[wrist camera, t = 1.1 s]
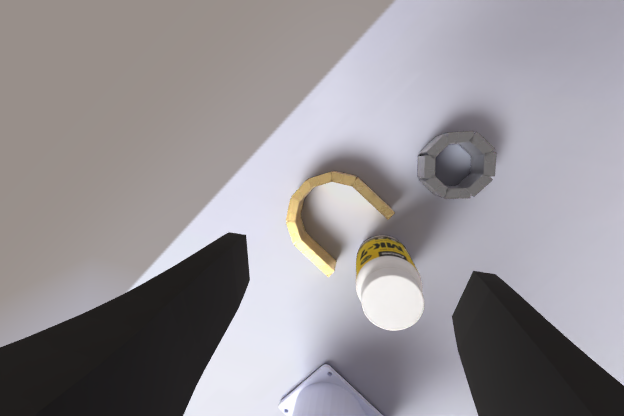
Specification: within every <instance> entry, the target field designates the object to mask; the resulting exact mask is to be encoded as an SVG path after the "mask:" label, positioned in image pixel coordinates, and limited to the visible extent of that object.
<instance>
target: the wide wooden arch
mask: <svg viewBox="0 0 624 416" xmlns="http://www.w3.org/2000/svg"><path fill="white" fill-rule="evenodd" d="M329 182H336V183H340V184H344V185H349V186H352V187H353V188H355V189H356V190H357V191H358V192H359V193H360V194H361V195H362V196H363V197H364V198H365V199H366V200H367V201H368V202H369V203H371V204H372V205H373V206H374V207H375V208H376V209H377V210H378V211H379V212H380V213H381V214H382V215H383V216H384V217H385V218H387V219H389V218H390V217H391V216H393V215H394V214H395V212H394V211H393V210H392V208H391V207H390V206H389V205H388V204H386V203H385V202H384V201H383V200H382V199H381V198H380V197H379V196H378V195H377V194H376V193H375V192H374V191H373V190H372V189H370V188H369V187H368V186H367V185H366V184H365V183H364V182H363V181H362V180H361V179H360V178H359V177H357V178H356V176H355V175H351V174H346V173H342V172H338V171H331V172H328V173H325V174H322V175H319V176H315V177H312V178H309V179H308V180H306V181H305V182H304V183H303V184H302V186H301V187H300V188H299V189H298V190H297V191H296V192H295V193H294V194H293V196H292V198H291V199H290V203H289V208H288V213H287V218H286V221H287V222H286V224H287V227H288V230H289V233H290V236H291V239H292V242H293V243H295V244H294V245H295V246H296V247H297V248H298V249H299V250H300V251H301V252H302V253H303V254H304V255H305V256H306V257H307V258H309V259H310V260H311V261H312V262H313V263H314V264H315V265H316V266H317V267H318V268H319V269H320V270H321V271H322V272H323V273H325V274H326V275H327V276H328V277H329V276H330V275H331V274H332V273H333V272H334V271H335V266H336V260H335V259H334V258H333V257H332V256H331V255H329V254H328V253H327V252H326V251H325V250H324V249H323V248H322V247H321V246H320V245H319V244H318V243H317V242H316V241H315V240H313V239H312V238H311V237H310V236H309V235H308V234H307V233H306V231H305V228H304V225H303V222H302V218H301V211H302V207H303V202H304V198H305V197H306V196H307V195H308V194H309V193H310V192H311V191H312V189H313V188H314V187H316V186H319V185H322V184H326V183H329Z"/></svg>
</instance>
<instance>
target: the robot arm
mask: <svg viewBox="0 0 624 416" xmlns="http://www.w3.org/2000/svg"><path fill="white" fill-rule="evenodd" d="M249 281H250V277H249V265H248V253H247V241H246V235H242V234H236V233H230V232H229V233H227V234H225V235H224V236H222V237H220V238H219V239H217V240H215V241H214V242H212V243H211V244H209V245H207V246H206V247H204V248H203V249H201V250H199V251H198V252H196V253H195V254H193V255H191V256H190V257H188V258H186V259H185V260H183V261H182V262H180V263H178V264H177V265H175V266H173V267H172V268H170V269H168V270H166V271H165V272H163V273H161V274H159V275H158V276H156V277H154V278H152V279H150V280H149V281H147V282H145V283H143V284H142V285H140V286H138V287H136V288H134V289H132V290H130V291H129V292H127V293H125V294H123V295H121V296H119V297H117V298H115V299H113V300H111V301H109V302H107V303H104V304H102V305H100V306H98V307H96V308H94V309H92V310H90V311H88V312H85V313H83V314H81V315H79V316H76V317H74V318H72V319H69V320H67V321H64V322H62V323H60V324H58V325H55V326H53V327H50V328H48V329H46V330H43V331H41V332H39V333H36V334H34V335H31V336H29V337H26V338H24V339H21V340H19V341H16V342H14V343H11V344H8V345H6V346H3V347H0V416H183V414H184V412H185V410H186V408H187V405H188V403H189V401H190V399H191V396H192V394H193V392H194V390H195V387H196V385H197V383H198V381H199V379H200V378H201V376H202V374H203V372H204V370H205V368H206V366H207V364H208V363H209V361H210V359H211V357H212V355H213V354H214V352H215V350H216V348H217V346H218V344H219V343H220V341H221V339H222V337H223V335H224V334H225V332H226V330H227V328H228V326H229V325H230V323H231V321H232V319H233V317H234V315H235V313H236V312H237V310H238V308H239V306H240V303H241V301H242V298H243V296H244V294H245V291H246V288H247V286H248V283H249ZM452 319H453V325H454V332H455V337H456V342H457V347H458V352H459V355H460V358H461V362H462V365H463V368H464V371H465V375H466V378H467V381H468V384H469V387H470V390H471V394H472V397H473V400H474V403H475V406H476V409H477V413H478V416H624V386H623V385H622V384H621V383H620V382H618V381H617V380H616V379H615V378H614V377H612V376H611V375H610V374H609V373H608V372H606V371H605V370H604V369H603V368H602V367H600V366H599V365H598V364H597V363H595V362H594V361H593V360H592V359H591V358H590V357H588V356H587V355H586V354H585V353H584V352H583V351H581V350H580V349H579V348H578V347H577V346H576V345H574V344H573V343H572V342H571V341H570V340H569V339H568V338H566V337H565V336H564V335H563V334H562V333H561V332H560V331H559V330H557V329H556V328H555V327H554V326H553V325H552V324H551V323H550V322H548V321H547V320H546V319H545V318H544V317H543V316H542V315H541V314H540V313H539V312H537V311H536V310H535V309H534V308H533V307H532V306H531V305H530V304H529V303H527V302H526V301H525V300H524V299H523V298H522V297H521V296H520V295H519V294H518V293H516V292H515V291H514V290H513V289H512V288H511V287H510V286H509V285H507V284H506V283H505V282H504V281H503V280H502V279H500V278H499V277H498V276H497V275H495V274H490V273H483V272H477V271H473V273H472V275H471V277H470V279H469V281H468V284H467V286H466V288H465V290H464V292H463V294H462V296H461V298H460V301H459V303H458V305H457V307H456V309H455V311H454V313H453V316H452ZM328 372H331V374H330V373H328ZM285 408H286V409H285ZM279 409H280V410H281V411H282V412H283V413H284V414H285V415H286V416H383V415H382V414H381V413H380V412H379V411H378V410H377V409H375V408H374V407H373V406H372V405H371V404H370V403H369V402H368V401H367V400H366V399H365V398H364V397H363V396H362V395H361V394H359V393H358V392H357V391H356V390H355V389H354V388H353V387H352V386H351V385H350V384H349V383H348V382H347V381H346V380H345V379H343V378H342V377H341V376H340V375H339V374H338V373H337V372H336V371H335V370H334V369H333V368H332V367H331V366H330V365H328V364H324V365H323V366H321V367H320V368H319V369H318V370H317V371H316V372H314V373H313V374H312V375H311V376H310V377H309V378H307V379H306V380H305V381H304V382H303V383H302V384H300V385H299V386H298V387H297V388H296V389H294V390H293V391H292V392H291V393H290V394H289V395H287V396H286V397H285V398H284V399H283V400H282V401H280V403H279Z"/></svg>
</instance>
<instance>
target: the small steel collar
mask: <svg viewBox="0 0 624 416" xmlns="http://www.w3.org/2000/svg"><path fill="white" fill-rule="evenodd" d="M451 144H459V145H460V146H461V147H462V148H463V149H464V150H465V151H466V152H467V153H469V154H470V155H471V165H470V174H468V175H467V176H466V177H465V178H464V179H463V180H462V181H461V182H460V183H459V184H458V185H451V186H445V185H444V184H443V183H442V182H441V181H440V180H439V179H438V178H437V177H435V159H436V156H437V155H438V154H439V153H441V152H442V151H443V150H444V149H445V148H446V147H447V146H448V145H451ZM494 149H495V148H494V147H493V146H492V145H491V144H490V143H488V142H487V141H486V140H485V139H484V138H483V137H482V136H481V135H480V134H479V133H478V132H476V133H474V131H465V132H448V133H445V134H442V135H439V136H437V137H435V138H434V139H433V140H432V141H431V142H430V143H429V144H428V145H427V146H426V147H425V148H424V149H423V150H422V151H421V152H420V154H421V155H422V156H418V167H417V177H420V179H419V181H420V182H421V183H422V184H423V185H425V186H426V187H427V188H428V189H429V190H430V191H431V192H432V193H433V194H435V195H437V196H440V197H443V198H445V199H458V198H470V196H473V197H474V196H475V195H477V194H478V193H479V192H480V191H481V190H482V189H483V188H484V187H486V186H487V185H488V184H489V183H490V182H491V181H492V180H493V179H492V178H491V177H489V176H495V166H496V152H492V151H493V150H494Z"/></svg>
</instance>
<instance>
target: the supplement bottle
mask: <svg viewBox="0 0 624 416" xmlns="http://www.w3.org/2000/svg"><path fill="white" fill-rule="evenodd" d="M356 291H357V294H358V297H359V299H360V301H361V303H362V308H363V311H364V313H365V315H366V316H367V318H368V319H369V320H370V321H371V322H372V323H373V324H374V325H376V326H378V327H380V328H382V329H385V330H391V331H398V330H403V329H406V328H409V327H410V326H412V325H414V324H415V323H416V322H417V321H418V320H419V318H420V317H421V315H422V313H423V310H424V297H423V294H422V280H421V277H420V274H419V272H418V271H417V269H416V267H415V265H414V263H413V261H412V259H411V258H410V256H409V254H408V252H407V250H406V248H405V247H404V246H403V244H402V243H401V242H399V241H398V240H397V239H395V238H393V237H390V236H384V235H380V236H375V237H372V238H370V239H368V240H366V241H365V242H364V243H363V244H362V245H361V246H360V248H359V250H358V253H357V259H356Z"/></svg>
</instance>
